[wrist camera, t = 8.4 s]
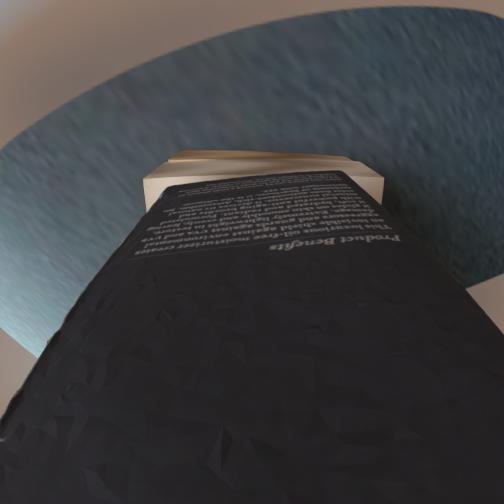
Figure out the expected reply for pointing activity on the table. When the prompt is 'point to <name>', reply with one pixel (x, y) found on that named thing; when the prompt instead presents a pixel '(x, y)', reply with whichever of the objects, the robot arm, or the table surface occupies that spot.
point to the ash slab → (253, 173)
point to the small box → (264, 362)
